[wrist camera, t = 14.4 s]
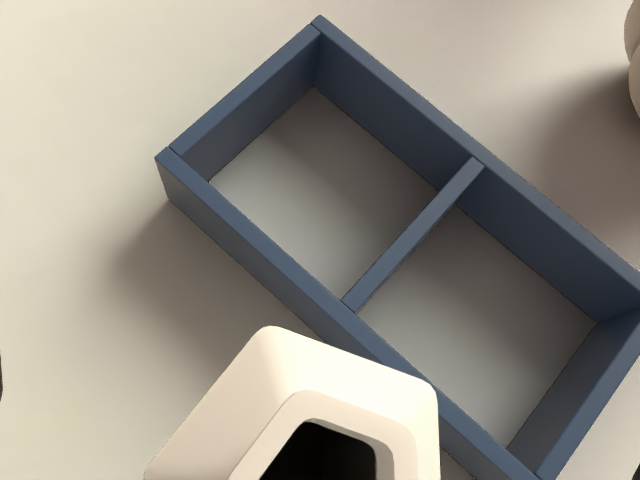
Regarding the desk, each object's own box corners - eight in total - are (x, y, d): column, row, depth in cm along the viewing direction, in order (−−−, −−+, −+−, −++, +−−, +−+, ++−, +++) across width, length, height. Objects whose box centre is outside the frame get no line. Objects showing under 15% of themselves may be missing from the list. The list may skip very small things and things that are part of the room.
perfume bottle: (374, 478, 21) (632, 545, 7) (265, 563, 20) (294, 861, 5) (298, 364, 22) (382, 210, 8) (190, 438, 21) (49, 419, 6)
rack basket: (494, 496, 21) (538, 505, 18) (167, 198, 23) (153, 157, 20) (617, 322, 23) (676, 301, 20) (311, 68, 26) (320, 13, 22)
